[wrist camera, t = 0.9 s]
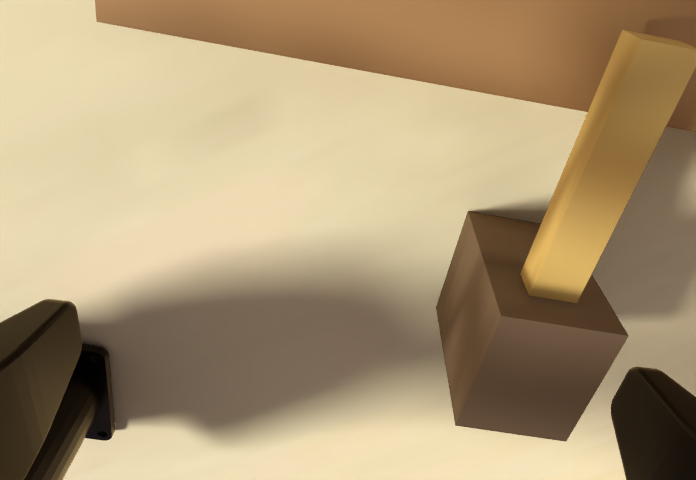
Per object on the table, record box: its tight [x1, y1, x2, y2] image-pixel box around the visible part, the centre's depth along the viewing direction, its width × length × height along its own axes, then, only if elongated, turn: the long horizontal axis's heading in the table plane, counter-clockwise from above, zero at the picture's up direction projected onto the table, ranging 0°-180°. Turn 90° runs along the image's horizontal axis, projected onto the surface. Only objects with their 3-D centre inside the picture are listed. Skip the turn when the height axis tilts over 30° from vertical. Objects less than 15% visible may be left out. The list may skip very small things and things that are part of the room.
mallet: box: [436, 30, 696, 441], centre depth 18 cm, size 13×4×6 cm, turn 170°
